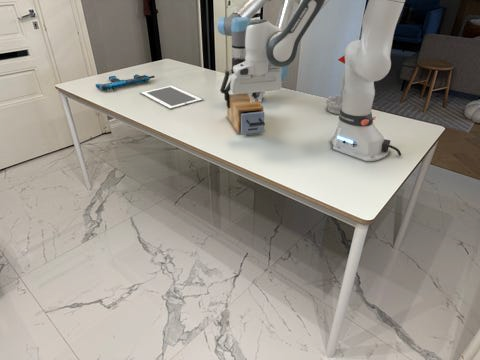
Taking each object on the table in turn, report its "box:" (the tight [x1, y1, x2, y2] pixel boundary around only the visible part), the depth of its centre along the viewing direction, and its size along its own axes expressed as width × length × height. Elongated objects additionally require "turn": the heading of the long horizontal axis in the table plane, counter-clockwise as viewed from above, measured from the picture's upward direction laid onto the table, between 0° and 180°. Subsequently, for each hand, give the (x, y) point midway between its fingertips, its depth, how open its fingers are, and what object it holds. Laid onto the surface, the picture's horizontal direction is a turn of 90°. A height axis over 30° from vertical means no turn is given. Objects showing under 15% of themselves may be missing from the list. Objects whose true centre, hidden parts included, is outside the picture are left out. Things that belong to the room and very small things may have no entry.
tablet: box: [140, 85, 204, 110], centre depth 187 cm, size 32×20×1 cm, turn 41°
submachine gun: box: [94, 74, 155, 92], centre depth 207 cm, size 34×4×25 cm
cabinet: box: [226, 93, 264, 135], centre depth 153 cm, size 20×11×11 cm, turn 16°
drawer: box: [240, 110, 266, 136], centre depth 148 cm, size 24×10×9 cm, turn 16°
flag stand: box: [325, 48, 346, 115], centre depth 162 cm, size 13×13×30 cm
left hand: (240, 105), depth 158 cm, fingers closed on cabinet, 11 cm apart
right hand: (255, 102), depth 135 cm, fingers closed
